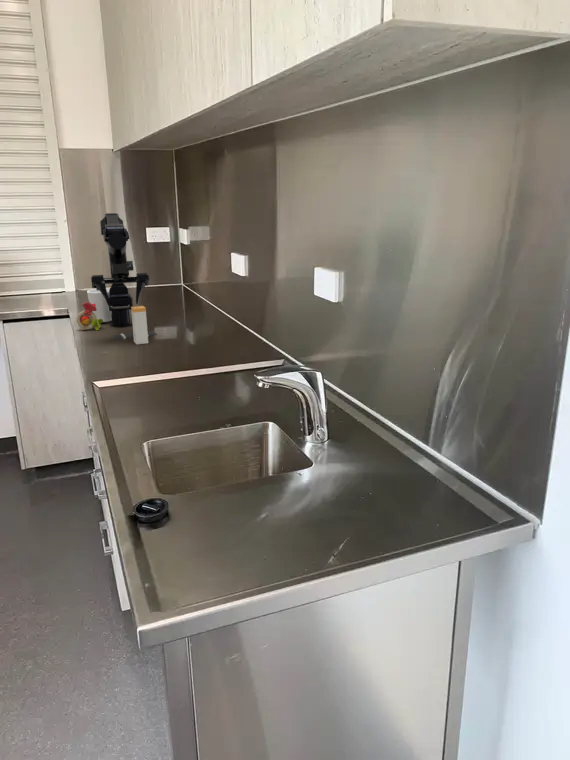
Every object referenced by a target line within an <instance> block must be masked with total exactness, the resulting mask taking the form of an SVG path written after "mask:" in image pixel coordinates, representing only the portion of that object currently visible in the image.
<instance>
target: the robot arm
mask: <svg viewBox="0 0 570 760" xmlns="http://www.w3.org/2000/svg"><path fill="white" fill-rule="evenodd" d="M119 216H120V215H119V213H116V212H111V213H104V217H103V218H102V219H101V220H100V221H99V224H100V233H101V236H103V241H104V243H105V244H106V245H107V246H108V259H109V268H110V276H111V277H104V274H94V275H92V276H91V277H90V279H91V281H90V282H91V287H92V289H96V290H100V292H101V293H102V295H103V296H104V298H105V300H106V302H107V304H108V306H109V311H112V314H111V318H112V322H111V323H109V326H112V325H115V326H114V327H118V326H124V327H126V326H125V325H127V326H130V325H129V324H131V325H133V324H132V322H131V318H130V317H131V316H130V310H131V307H134V305H133V302H134V301H133V296H132V295H131V293H129V288H128V287H127V285H125V284H128V283H129V284H130V283H131V284H132V283H136V285H135V304H136V305H138V304H139V299H140V295H141V292H142V290H143V289H144V288H145V289H146V286H147V287H148V286H149V285H150V283H149V282H150V276H149V274H148V272H138V273H135V274H136V276H130V271H131V272H132V271H134V263H133V262H134V261H133V260H127V242H129V240H130V233H129V231H128V230H127V228H125V225H124V220H122V218H120V217H119ZM108 284H110V285H111V286H110V287H109V289H110V290H109V295H108V294H107V290H106V288H107V286H106V285H108ZM110 306H112V307H110Z"/></svg>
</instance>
